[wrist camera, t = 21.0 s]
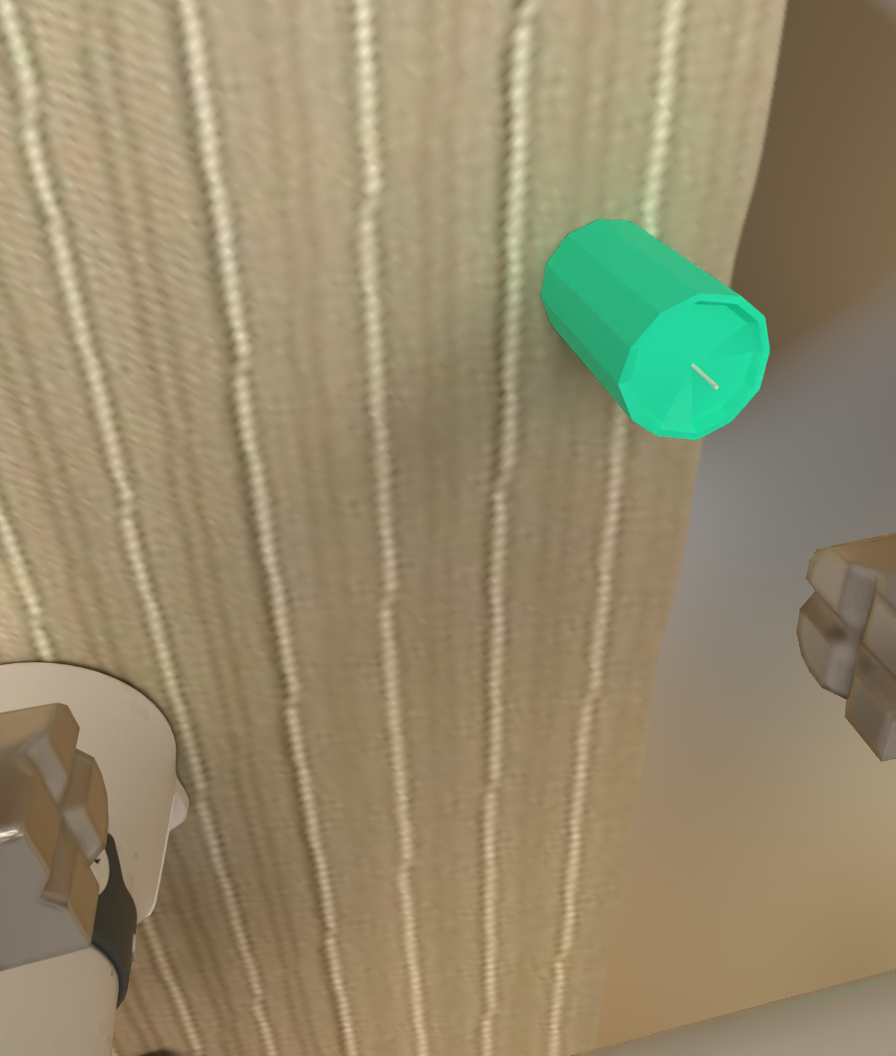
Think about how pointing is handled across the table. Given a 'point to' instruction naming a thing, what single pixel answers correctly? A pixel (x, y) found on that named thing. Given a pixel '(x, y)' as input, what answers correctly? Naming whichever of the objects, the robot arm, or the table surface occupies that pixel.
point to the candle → (655, 329)
